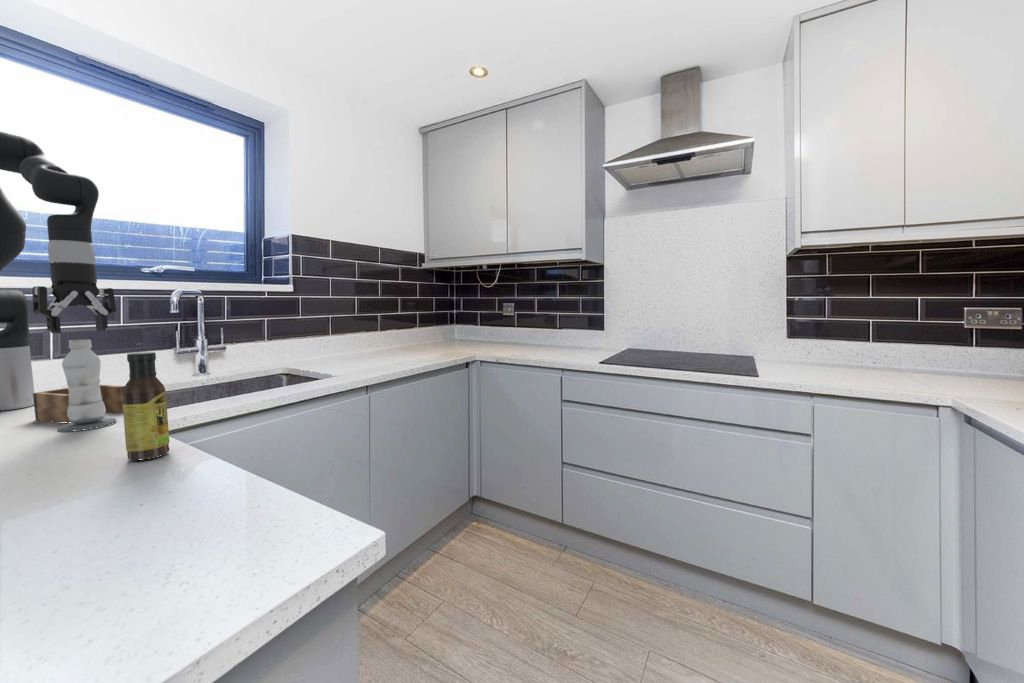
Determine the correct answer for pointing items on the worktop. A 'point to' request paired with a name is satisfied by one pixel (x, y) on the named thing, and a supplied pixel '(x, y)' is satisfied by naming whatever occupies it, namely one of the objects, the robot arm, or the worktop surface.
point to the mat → (86, 425)
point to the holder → (57, 402)
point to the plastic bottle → (83, 383)
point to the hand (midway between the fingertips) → (79, 331)
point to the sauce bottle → (144, 409)
